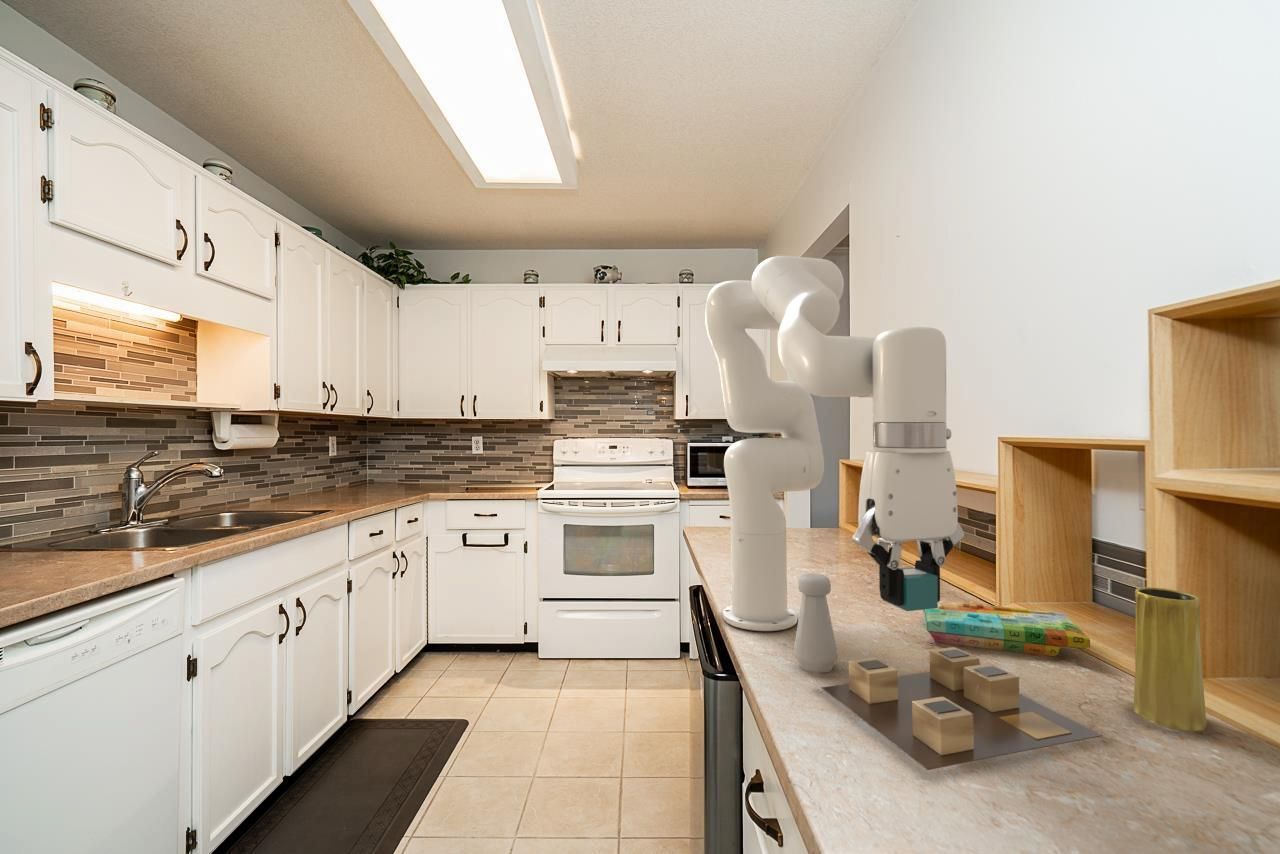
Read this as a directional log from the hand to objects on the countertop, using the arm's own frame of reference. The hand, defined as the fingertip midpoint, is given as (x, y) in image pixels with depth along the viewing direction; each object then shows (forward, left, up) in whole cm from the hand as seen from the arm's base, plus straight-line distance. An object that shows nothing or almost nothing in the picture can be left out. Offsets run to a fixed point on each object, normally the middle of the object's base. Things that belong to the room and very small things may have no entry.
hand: (909, 598), depth 64 cm
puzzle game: (-16, +29, -14) cm, 36 cm away
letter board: (0, +5, -14) cm, 15 cm away
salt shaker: (-15, -3, -14) cm, 21 cm away
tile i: (-6, +11, -13) cm, 18 cm away
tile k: (+5, -1, -13) cm, 14 cm away
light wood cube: (-6, -1, -13) cm, 14 cm away
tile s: (0, 0, -1) cm, 1 cm away
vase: (+8, +27, -14) cm, 32 cm away
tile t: (0, +11, -13) cm, 17 cm away
